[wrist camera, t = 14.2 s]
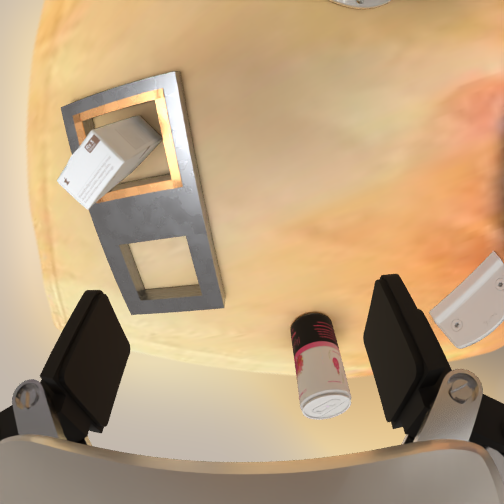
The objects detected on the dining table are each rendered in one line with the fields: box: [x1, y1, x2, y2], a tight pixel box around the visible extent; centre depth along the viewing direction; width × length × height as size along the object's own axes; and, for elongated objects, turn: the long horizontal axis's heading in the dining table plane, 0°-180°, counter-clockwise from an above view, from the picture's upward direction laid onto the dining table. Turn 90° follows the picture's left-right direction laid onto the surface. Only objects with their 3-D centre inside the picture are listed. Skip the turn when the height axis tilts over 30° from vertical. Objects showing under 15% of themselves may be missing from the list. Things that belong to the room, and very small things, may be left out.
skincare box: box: [57, 115, 163, 209], centre depth 28 cm, size 6×4×12 cm
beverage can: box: [291, 313, 351, 419], centre depth 41 cm, size 6×6×15 cm
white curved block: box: [429, 251, 504, 349], centre depth 42 cm, size 17×5×10 cm, turn 140°
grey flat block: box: [61, 71, 225, 315], centre depth 36 cm, size 30×14×3 cm, turn 7°
